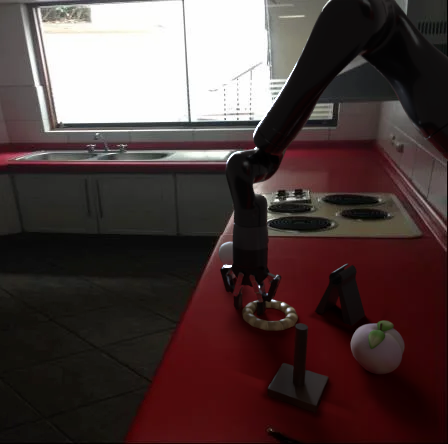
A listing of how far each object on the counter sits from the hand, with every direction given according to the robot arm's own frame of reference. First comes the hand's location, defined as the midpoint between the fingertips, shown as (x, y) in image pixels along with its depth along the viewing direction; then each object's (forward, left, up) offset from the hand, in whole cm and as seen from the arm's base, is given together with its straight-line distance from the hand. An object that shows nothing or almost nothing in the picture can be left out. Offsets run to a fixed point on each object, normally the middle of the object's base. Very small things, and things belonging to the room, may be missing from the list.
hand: (249, 311), depth 95 cm
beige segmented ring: (-5, 0, 0) cm, 5 cm away
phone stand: (-18, -8, -1) cm, 19 cm away
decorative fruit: (-27, +8, -1) cm, 28 cm away
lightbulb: (+11, -14, -1) cm, 18 cm away
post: (-17, +19, -1) cm, 25 cm away
